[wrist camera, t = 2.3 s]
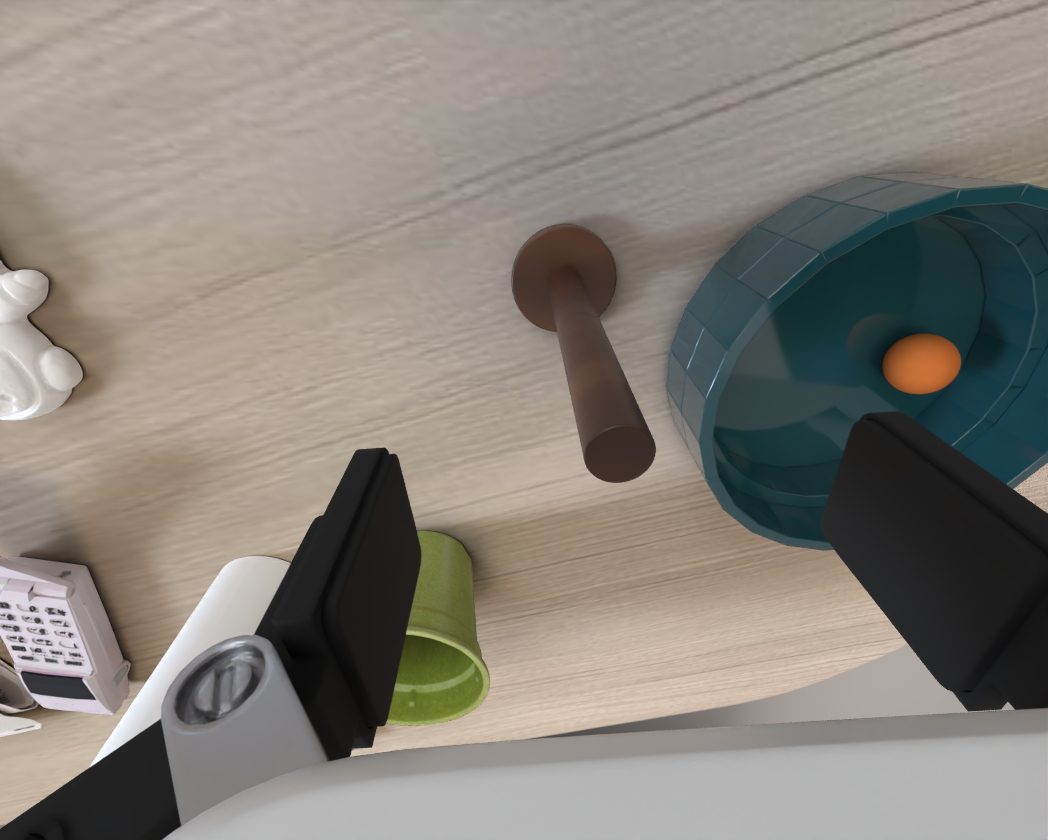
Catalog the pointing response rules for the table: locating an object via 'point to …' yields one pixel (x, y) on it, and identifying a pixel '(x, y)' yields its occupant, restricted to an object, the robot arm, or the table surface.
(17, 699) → the newspaper
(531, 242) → the stirring stick
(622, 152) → the table surface
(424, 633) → the plant pot
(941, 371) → the ball
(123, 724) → the cylindrical container
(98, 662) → the mobile phone
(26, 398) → the white toy figurine
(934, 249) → the bowl
